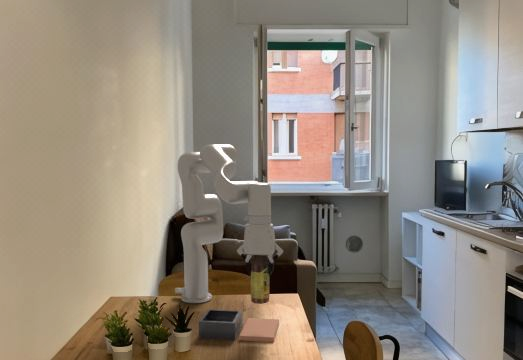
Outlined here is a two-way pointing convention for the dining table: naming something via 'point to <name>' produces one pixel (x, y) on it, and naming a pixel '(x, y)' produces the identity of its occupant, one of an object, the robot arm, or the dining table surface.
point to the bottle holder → (220, 324)
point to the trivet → (260, 330)
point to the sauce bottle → (259, 279)
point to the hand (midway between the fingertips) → (260, 273)
